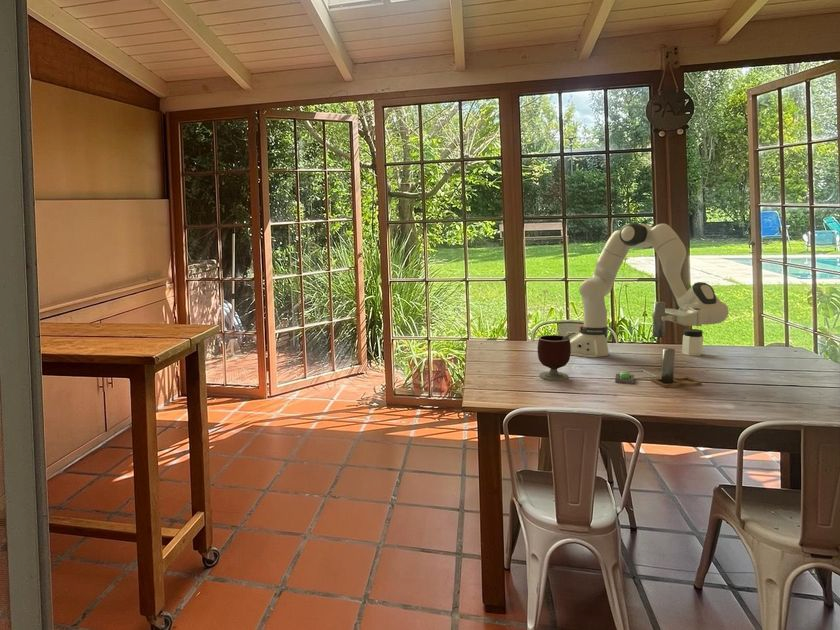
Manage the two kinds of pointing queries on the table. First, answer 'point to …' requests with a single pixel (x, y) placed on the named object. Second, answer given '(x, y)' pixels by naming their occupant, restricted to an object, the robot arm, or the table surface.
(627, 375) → the button
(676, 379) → the tray
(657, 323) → the cylinder
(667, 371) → the cylinder
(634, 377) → the square tray
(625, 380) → the switch box
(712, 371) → the table surface
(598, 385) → the table surface
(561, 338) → the mate gourd
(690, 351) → the jar
